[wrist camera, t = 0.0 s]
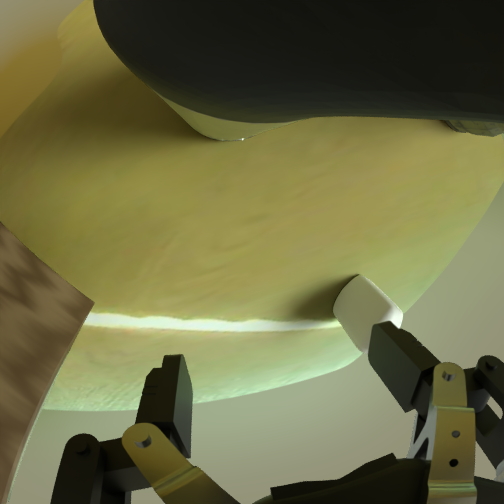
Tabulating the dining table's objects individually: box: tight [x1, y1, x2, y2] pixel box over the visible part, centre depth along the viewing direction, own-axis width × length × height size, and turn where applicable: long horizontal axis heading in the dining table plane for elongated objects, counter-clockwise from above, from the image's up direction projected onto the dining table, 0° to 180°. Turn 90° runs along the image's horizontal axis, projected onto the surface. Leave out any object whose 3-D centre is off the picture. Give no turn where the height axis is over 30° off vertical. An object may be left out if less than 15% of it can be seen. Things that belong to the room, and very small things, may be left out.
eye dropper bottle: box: [333, 275, 403, 354], centre depth 26 cm, size 4×6×12 cm
